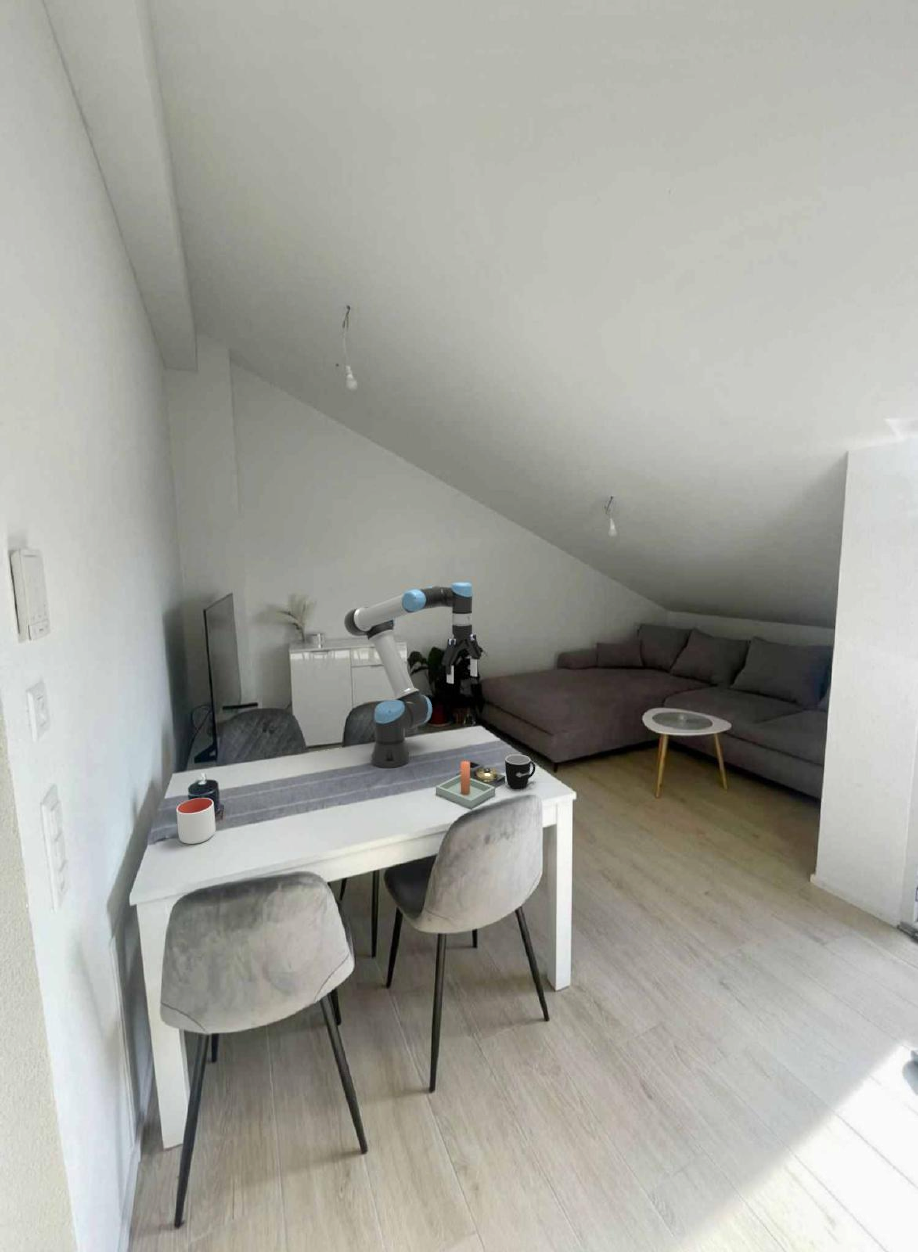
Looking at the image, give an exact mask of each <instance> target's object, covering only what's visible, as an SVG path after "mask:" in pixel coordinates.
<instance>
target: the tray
mask: <svg viewBox="0 0 918 1252" xmlns="http://www.w3.org/2000/svg"><path fill="white" fill-rule="evenodd" d="M435 795H436V796H438V797H441V798H442V799H446V800H447V801H450V802H453V803H455V804H457V805H459V806H462V807H464V808H467V809H469V810H473V809H474V808H475V807H478V806H480V805H481V804H483V803H485V802H486V801H488V800H490V799H492V798H493V797H495V796H496V788H495V787H493V786H490V785H488V784H485V783H482V782H480V781H477V780H474V779H471V778H470V794H469V795H462V794H461V774H460V775H458V776H456V775H455V776H454V777H452V778H450V779H448V780H446V781H444V782H442V783H440V784H438V785H436V786H435Z"/></svg>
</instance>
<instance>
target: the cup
mask: <svg viewBox="0 0 918 1252" xmlns="http://www.w3.org/2000/svg"><path fill="white" fill-rule="evenodd" d="M175 810H176V821H177V830H178V838H179V839H178V840H179V841H180V842H182V843H184V844H186V845H187V844H189V845H195V844H200V843H204V842H206V841H208V840H209V839H211V838H212V837H213V836H214V835H215V833H216V829H217V827H216V817H215V815H216V814H215V804H214V801H213V800H212V799H211V798H208V797H198V798H193V799H188V800H186V801H184V802H181V803H180V804H179V805H178V806H177V807H176V809H175Z"/></svg>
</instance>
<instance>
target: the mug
mask: <svg viewBox="0 0 918 1252" xmlns="http://www.w3.org/2000/svg"><path fill="white" fill-rule="evenodd" d="M504 764H505V767H504V768H505V780H506V783H507V785H508V788H510V789H512V790H515V791H516V790H517V791H518V790H519V791H520V790H525V789H526V788H527V787H528V783H529V780H530V778H532V777H533V776H534V774H535V772H536V764H535V763H534V762H533V761H532V760H531V758H530V757H529V756H527V755H525V754H524V755H523V754H516V753H515V754H510V755H507V756H506V757H505V759H504ZM531 765H532V770H531ZM530 771H531V772H530Z"/></svg>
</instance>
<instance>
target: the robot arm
mask: <svg viewBox="0 0 918 1252" xmlns="http://www.w3.org/2000/svg"><path fill="white" fill-rule="evenodd" d="M473 595H474V594H473V585H472V584H471V583H470V582H459V581H458V582H453V583H452V584H451V586H450V587H448V586H440V585H436V586H433V585H431V586H429V587H428V588H421V589H420V588H419V589H410V590H408V591H406V592H404V593H403V594H401V595H398V596H396V597H393V598H391V599H388V600H385V601H383V602H379V603H377V604H374V605H371V606H366V607H358V608H354V609H351V610H350V611H349V612H347V614H346V615H345V617H344V619H343V620H344V621H343V623H344V628H345V630H346V631H347V632H348V633H349V634H350V635H352V636H355V637H365V636H366V638H367V641H368V642H370V643H372V644H373V646H374V647H375V650H376V652H377V654H378V655H377V656H378V657H379V660H380V662H381V665H382V667H383V670H384V673H385V675H386V676H387V680H388V682H389V684H390V687H391V689H392V692H393V694H394V698H393V699H390V700H385V701H382V702H380V703H379V704H377V705H376V706H375V708H374V716H373V717H374V733H375V735H374V739H375V740H374V741H375V742H374V745H373V746H374V747H373V750H372V753H371V757H370V758H371V764H372V765H374V766H375V767H379V768H383V769H393V768H399V767H402V766H404V765H407V764H408V763H409V762H410V760H411V758H410V752H409V749H408V746H407V743H406V734H405V733H406V731H408V730H412V729H413V728H416V727H420V726H422V725H423V724H425V723H427V722H428V721H429V720H430V719H431V716H432V713H433V707H432V706H433V705H432V702H431V700H430V699H429V697H428V696H426V695H424V694H422V693H421V692H420V691H421V690H420V689H418V688H416V687H414V684H413V681H412V678H411V677H410V675H409V672H408V669H407V667H406V665H405V663H404V660H403V658H402V657H403V656H402V655H401V653H400V650H399V649H398V646H397V643H396V641H395V639H394V637H393V636H394V633H395V629H394V628H395V626H396V623H395V622H396V619H397V618H401V617H404V616H407V615H410V614H412V613H416V612H419V611H423V610H426V609H427V610H429V609H434V608H441V607H442V608H451V624H452V625H451V626H452V627H451V631H452V632H451V634H452V635H453V639H452V638H448V639H447V642H446V643H447V644H446V645H447V646H446V648H445V651H444V654H443V656H442V661H441V665H442V666H445V674H446V683H448V684H454V680H455V679H454V676H455V675H454V671H455V670H454V668H455V667H454V666H455V665H453V664H454V661H455V660H456V658H457V657H458V654H459V652H461V650H466V651H467V653H468V654H469V655H470V657H471V658H470V676H472V677H478V662H479V661H478V660H480V659H481V657H482V651H481V649H480V647H479V643H478V641H477V635H476V634H473V625H472V623H473Z"/></svg>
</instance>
